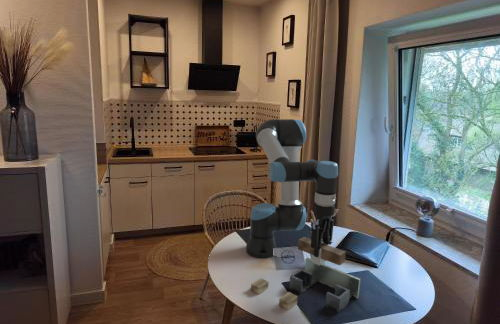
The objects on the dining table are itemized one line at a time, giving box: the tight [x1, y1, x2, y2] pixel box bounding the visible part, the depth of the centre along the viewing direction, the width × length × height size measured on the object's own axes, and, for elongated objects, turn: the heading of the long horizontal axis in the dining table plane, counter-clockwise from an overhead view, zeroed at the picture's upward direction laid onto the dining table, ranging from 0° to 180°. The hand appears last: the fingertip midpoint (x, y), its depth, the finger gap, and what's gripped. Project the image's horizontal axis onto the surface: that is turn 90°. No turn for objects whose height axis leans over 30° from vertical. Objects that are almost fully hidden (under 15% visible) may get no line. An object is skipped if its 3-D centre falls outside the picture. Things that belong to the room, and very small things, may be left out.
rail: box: [297, 236, 347, 266], centre depth 133 cm, size 18×4×4 cm, turn 48°
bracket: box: [289, 257, 361, 313], centre depth 138 cm, size 24×14×8 cm, turn 48°
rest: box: [250, 277, 298, 311], centre depth 135 cm, size 18×6×3 cm, turn 48°
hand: (320, 261), depth 133 cm, fingers closed on rail, 4 cm apart
